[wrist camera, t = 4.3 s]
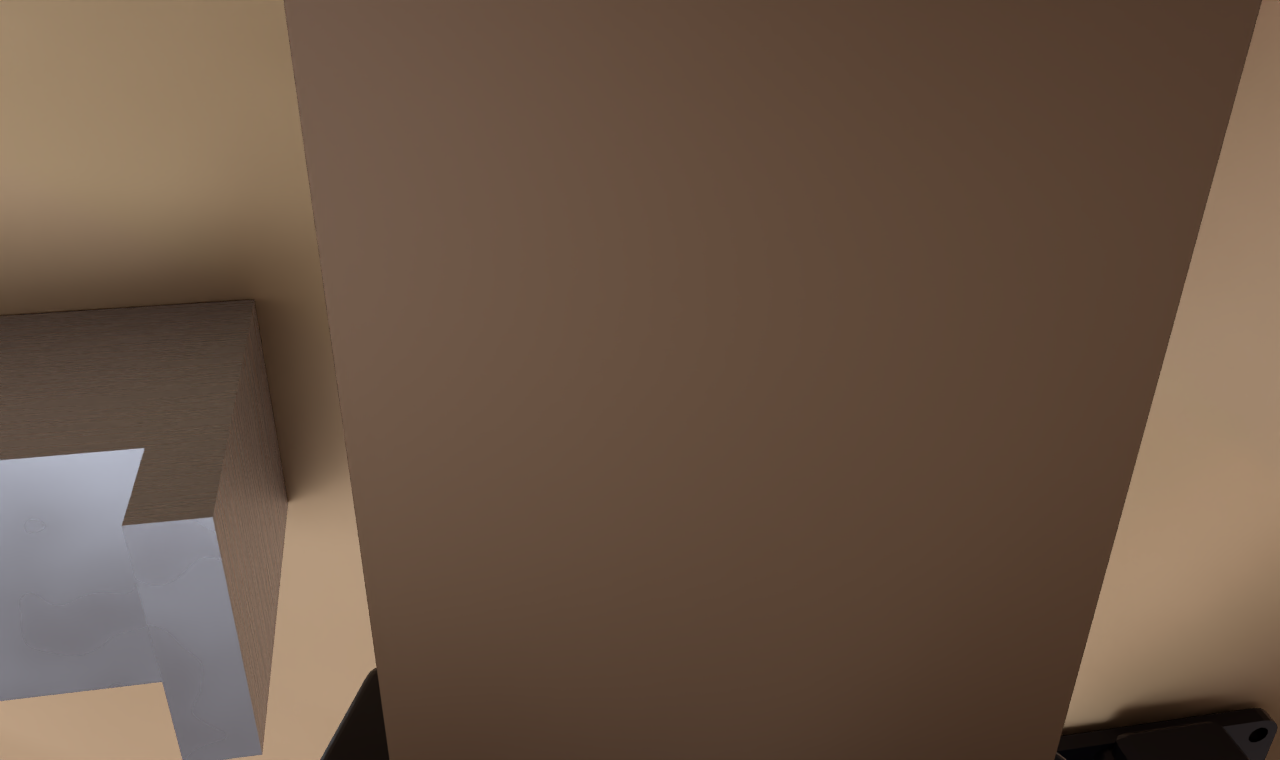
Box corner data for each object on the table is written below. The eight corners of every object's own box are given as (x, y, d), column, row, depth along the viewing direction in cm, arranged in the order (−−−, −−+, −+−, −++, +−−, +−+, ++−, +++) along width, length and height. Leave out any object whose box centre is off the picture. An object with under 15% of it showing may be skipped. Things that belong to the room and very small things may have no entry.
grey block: (287, 504, 20) (261, 754, 16) (-87, 539, 19) (-237, 819, 15) (254, 299, 18) (213, 516, 14) (-168, 327, 17) (-374, 572, 12)
